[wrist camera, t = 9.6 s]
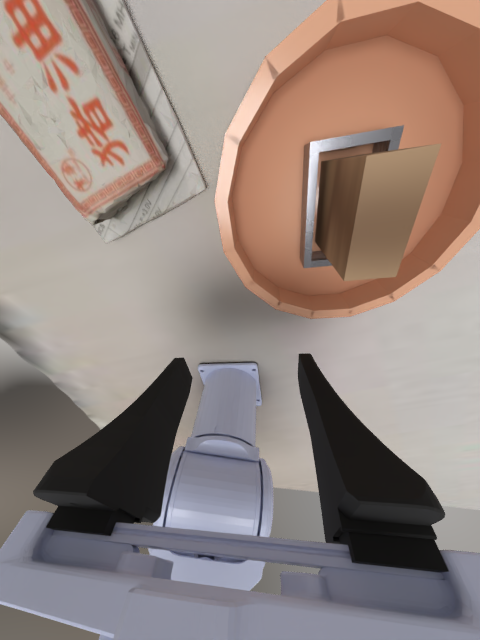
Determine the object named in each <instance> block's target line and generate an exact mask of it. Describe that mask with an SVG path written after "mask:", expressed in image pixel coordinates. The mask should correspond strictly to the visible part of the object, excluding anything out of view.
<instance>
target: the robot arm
mask: <svg viewBox="0 0 480 640" xmlns="http://www.w3.org/2000/svg"><path fill="white" fill-rule="evenodd" d="M198 371H199V373H200V376H201V378H202V381H203V383H204V389H203V393H202V397H201V400H200V404H199V408H198V412H197V416H196V419H195V423H194V427H193V431H192V435H191V437H188V439H187V442H186V446H185V447H182V446H180V447H178V448H177V450H175V451H174V452H173V453H172V449H173V445H174V441H175V436H176V433H177V429H178V426H179V423H180V420H181V417H182V414H183V411H184V408H185V405H186V402H187V399H188V396H189V393H190V388H191V383H192V376H191V373H190V371H189V369H188V366H187V364H186V362H185V360H184V358H174V360H173V361H172V362H171V363H170V364H169V365H168V366H167V367H166V369H165V370H164V371H163V372H162V373H161V374H160V375H159V377H158V378H157V379H156V380H155V381H154V382H153V383H152V384H151V385H150V386H149V387H148V388H147V390H146V391H145V392H144V393H143V394H142V395H141V396H140V397H139V398H138V399H137V400H136V401H135V402H134V403H132V404H131V405H130V406H129V407H128V408H127V409H126V410H125V411H124V412H122V413H121V414H120V415H119V416H118V417H117V418H115V419H114V420H113V421H112V422H110V423H109V424H108V425H107V426H105V427H104V428H103V429H101V430H100V431H99V432H98V433H96V434H95V435H94V436H92V437H91V438H89V439H88V440H86V441H85V442H84V443H82V444H81V445H79V446H78V447H76V448H75V449H73V450H71V451H70V452H68V453H67V454H65V455H64V456H62V457H61V458H59V459H57V460H56V461H54V463H53V464H52V466H51V467H50V469H49V470H48V471H47V473H46V474H45V476H44V477H43V478H42V480H41V481H40V483H39V484H38V486H37V487H36V488H35V490H34V491H33V493H34V496H36V497H38V498H40V499H42V500H45V501H47V502H50V503H52V504H55V505H57V506H58V508H57V510H56V511H55V513H51V512H44V511H34V510H28V511H26V512H25V514H24V515H23V517H22V518H21V520H20V521H19V523H18V524H17V526H16V527H15V528H14V530H13V531H12V533H11V534H10V536H9V537H8V539H7V540H6V542H5V543H4V545H3V546H2V548H1V549H0V604H2V605H5V606H9V607H13V608H16V609H19V610H23V611H26V612H29V613H32V614H36V615H39V616H42V617H45V618H49V619H52V620H56V621H59V622H62V623H65V624H68V625H72V626H75V627H78V628H81V629H85V630H88V631H91V632H94V633H98V634H100V637H99V640H480V553H474V552H463V551H454V550H440V551H439V549H438V547H437V545H436V543H435V540H436V539H437V537H436V534H435V532H434V530H433V528H432V526H431V525H432V524H434V523H436V522H438V521H440V520H442V519H443V518H444V517H445V512H444V510H443V508H442V506H441V504H440V503H439V501H438V499H437V497H436V496H435V494H434V493H433V491H432V490H431V488H430V487H429V485H428V484H427V482H426V481H425V479H423V478H422V477H421V476H420V475H419V474H417V473H416V472H415V471H414V470H413V469H411V468H410V467H409V466H408V465H407V464H406V463H404V462H403V461H402V460H401V459H400V458H399V457H397V456H396V455H395V454H394V453H393V452H392V451H391V450H390V449H389V448H387V447H386V446H385V445H384V444H383V443H382V442H381V441H380V440H379V439H378V438H377V437H376V436H375V435H374V434H373V433H372V432H371V431H370V430H369V429H368V428H367V427H366V426H365V425H364V424H363V423H362V422H361V421H360V420H359V419H358V418H357V417H356V416H355V415H354V414H353V412H352V411H351V410H350V409H349V408H348V407H347V406H346V404H345V403H344V402H343V401H342V400H341V398H340V397H339V396H338V395H337V393H336V392H335V391H334V389H333V388H332V387H331V385H330V384H329V382H328V381H327V380H326V378H325V377H324V375H323V374H322V372H321V371H320V369H319V367H318V366H317V364H316V362H315V361H314V359H313V357H312V355H311V354H299V363H298V381H299V388H300V394H301V398H302V403H303V407H304V411H305V415H306V419H307V423H308V427H309V431H310V436H311V441H312V448H313V454H314V461H315V467H316V474H317V481H318V488H319V495H320V503H321V510H322V518H323V525H324V534H325V540H326V543H322V542H312V541H301V540H291V539H282V538H272V537H269V535H270V532H271V526H272V519H273V518H272V517H273V482H272V475H271V471H270V468H269V467H268V465H267V463H266V461H265V460H264V459H261V458H259V448H257V447H255V438H256V406H261V405H262V398H261V390H260V382H259V374H258V367H257V364H256V363H227V364H200V365H198ZM134 522H136V523H141V522H151V523H153V526H149V525H140V524H133V523H134ZM138 547H142V548H148V550H149V553H150V555H146V554H140V553H139V548H138ZM265 562H271V563H279V564H287V565H297V566H305V567H314V568H322V569H321V570H320V571H319V573H318V575H317V574H311V573H300V572H284V571H282V573H281V595H274V594H268V593H261V592H254V591H250V590H251V589H252V588H253V587H254V586H255V585H256V584H257V583H258V582H259V581H260V579H261V578H262V570H263V568H264V566H265Z"/></svg>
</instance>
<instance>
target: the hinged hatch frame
mask: <svg viewBox="0 0 480 640" xmlns="http://www.w3.org/2000/svg"><path fill="white" fill-rule="evenodd" d="M403 128H404V125H401V126H396V127H390V128H385V129H379V130H374V131H368V132H363V133H357V134H352V135H346V136H341V137H335V138H330V139H324V140H319V141H313V142H309V143H308V144H306V145H304V160H303V186H302V211H301V237H300V261H301V263H302V265H303V268H312V267H323V266H332V264H331V263H330V262H329V260H328V259H327V258H326V256H325V255H324V253H323V252H322V251H312V242H313V229H314V215H315V201H316V188H317V174H318V160H319V153H322V152H328V151H334V150H340V149H345V148H351V147H357V146H363V145H368V144H374V145H373V150H372V153H377V152H384V151H391V150H398V148H399V144H400V140H401V136H402V132H403Z"/></svg>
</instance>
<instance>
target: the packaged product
mask: <svg viewBox="0 0 480 640" xmlns="http://www.w3.org/2000/svg"><path fill="white" fill-rule="evenodd" d="M0 114H1V116H2V117H3V118H4V119H5V120H6V122H7V123H8V124H9V125H10V127H11V128H12V129H13V130H14V132H15V133H16V134H17V135H18V136H19V138H20V139H21V141H22V142H23V143H24V145H25V146H26V147H27V148H28V149H29V151H30V152H31V153H32V154H33V155H34V157H35V158H36V159H37V160H38V162H39V163H40V164H41V165H42V167H43V168H44V169H45V170H46V171H47V173H48V174H49V175H50V176H51V177H52V178H53V179H54V180H55V182H56V183H57V185H58V187H59V188H60V189H61V191H62V192H63V193H64V195H65V196H66V197H67V199H68V200H69V201H70V202H71V203H72V205H73V206H74V207H75V209H76V210H77V211H78V212H79V213H81V215H82V216H83V218H84V219H85V220H87V221H88V222H89V223H90V224H91V225H92V226H93V227H94V228H95V230H96V231H97V232H98V233H99V235H100V236H101V238H102V239H103V240H104V242H106V243H109V242H112V241H114V240H116V239H118V238H120V237H123V236H125V235H126V234H128V233H129V232H131V231H132V230H134V229H135V228H137V227H138V226H140V225H142V224H144V223H147V222H149V221H151V220H153V219H155V218H157V217H159V216H161V215H163V214H165V213H167V212H169V211H170V210H172V209H174V208H176V207H178V206H180V205H182V204H183V203H185V202H186V201H188V200H189V199H191V198H192V197H194V196H195V195H196V194H198V193H199V192H201V191H202V190H204V189H205V188H206V184H205V182H204V180H203V177H202V175H201V172H200V170H199V167H198V165H197V163H196V160H195V158H194V155H193V153H192V151H191V148H190V146H189V144H188V141H187V139H186V137H185V134H184V132H183V130H182V127H181V125H180V123H179V120H178V118H177V116H176V114H175V112H174V111H173V109H172V107H171V105H170V103H169V101H168V99H167V97H166V95H165V93H164V90H163V88H162V86H161V84H160V81H159V79H158V77H157V75H156V72H155V70H154V68H153V65H152V63H151V61H150V59H149V56H148V54H147V52H146V49H145V47H144V45H143V43H142V40H141V38H140V36H139V34H138V31H137V29H136V27H135V25H134V23H133V20H132V18H131V16H130V14H129V12H128V9H127V7H126V4H125V2H124V0H0Z"/></svg>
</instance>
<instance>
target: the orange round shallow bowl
mask: <svg viewBox="0 0 480 640" xmlns="http://www.w3.org/2000/svg"><path fill="white" fill-rule="evenodd" d="M401 125H404V128H403V132H402V136H401V140H400V144H399V148H398V149H405V148H412V147H419V146H426V145H434V144H441V143H442V144H441V147H440V150H439V153H438V156H437V159H436V161H435V164H434V167H433V170H432V173H431V176H430V179H429V182H428V185H427V188H426V191H425V194H424V197H423V199H422V202H421V205H420V208H419V211H418V214H417V217H416V220H415V223H414V226H413V229H412V232H411V235H410V237H409V240H408V243H407V246H406V249H405V252H404V255H403V258H402V261H401V264H400V267H399V270H398V272H397V275H396V277H390V278H377V279H365V280H353V281H343V279H342V278H341V277H340V275H339V274H338V272H337V271H336V270H335V268H334V267H333V266H323V267H312V268H303V265H302V263H301V261H300V237H301V211H302V186H303V160H304V145H306V144H308V143H309V142H313V141H319V140H324V139H330V138H335V137H341V136H346V135H352V134H357V133H363V132H368V131H374V130H379V129H385V128H390V127H396V126H401ZM373 145H374V144H368V145H363V146H357V147H351V148H345V149H340V150H334V151H328V152H322V153H319V160H318V174H317V188H316V201H315V215H314V229H313V242H312V251H321V249H320V248H319V247H318V245H317V244H316V243H315V233H316V220H317V207H318V195H319V182H320V170H321V161H326V160H332V159H338V158H344V157H350V156H356V155H362V154H369V153H372V150H373ZM214 202H215V207H216V212H217V218H218V223H219V229H220V234H221V240H222V245H223V251H224V253H225V255H226V257H227V258H228V260H229V261H230V263H231V265H232V266H233V268H234V269H235V271H236V273H237V274H238V276H239V278H240V279H241V281H242V282H243V284H244V286H245V287H246V288H247V289H248V290H250V291H251V292H253V293H254V294H255V295H257V296H258V297H259V298H261V299H262V300H264V301H265V302H266V303H268V304H269V305H270V306H272V307H273V308H274V309H276V310H280V311H284V312H287V313H291V314H295V315H299V316H302V317H306V318H310V319H316V318H333V317H350V316H353V315H356V314H359V313H362V312H365V311H368V310H371V309H374V308H377V307H379V306H382V305H385V304H388V303H391V302H394V301H395V300H397V299H398V298H400V297H402V296H403V295H405V294H406V293H408V292H409V291H411V290H412V289H414V288H415V287H417V286H418V285H420V284H421V283H423V282H424V281H426V280H427V279H429V278H430V277H432V276H434V275H435V274H437V273H438V272H440V271H441V270H442V269H443V268H444V267H445V265H446V264H447V263H448V262H449V261H450V260H451V259H452V258H453V257H454V256H455V255H456V254H457V253H458V252H459V250H460V249H461V248H462V247H463V246H464V245H465V244H466V243H467V242H468V241H469V240H470V239H471V238H472V237H473V235H474V234H475V233H476V232H477V231H478V230H479V229H480V0H327V1H325V2H324V3H323V4H322V5H321V6H320V7H319V8H318V9H317V10H316V11H315V12H313V13H312V14H311V15H310V16H309V17H308V18H307V19H306V20H305V21H304V22H303V23H301V24H300V25H299V26H298V27H297V28H296V29H295V30H294V31H293V32H292V33H291V34H289V35H288V36H287V37H286V38H285V39H284V40H283V41H282V42H281V43H280V44H279V45H277V46H276V47H275V48H274V49H273V50H272V51H271V52H270V53H269V54H268V55H267V56H265V59H264V60H263V62H262V64H261V66H260V68H259V70H258V72H257V74H256V76H255V78H254V80H253V82H252V83H251V85H250V87H249V89H248V91H247V93H246V95H245V97H244V99H243V101H242V103H241V105H240V107H239V108H238V110H237V112H236V114H235V116H234V118H233V120H232V122H231V124H230V126H229V128H228V130H227V131H226V133H225V138H224V144H223V150H222V157H221V163H220V169H219V175H218V182H217V188H216V194H215V201H214Z"/></svg>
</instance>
